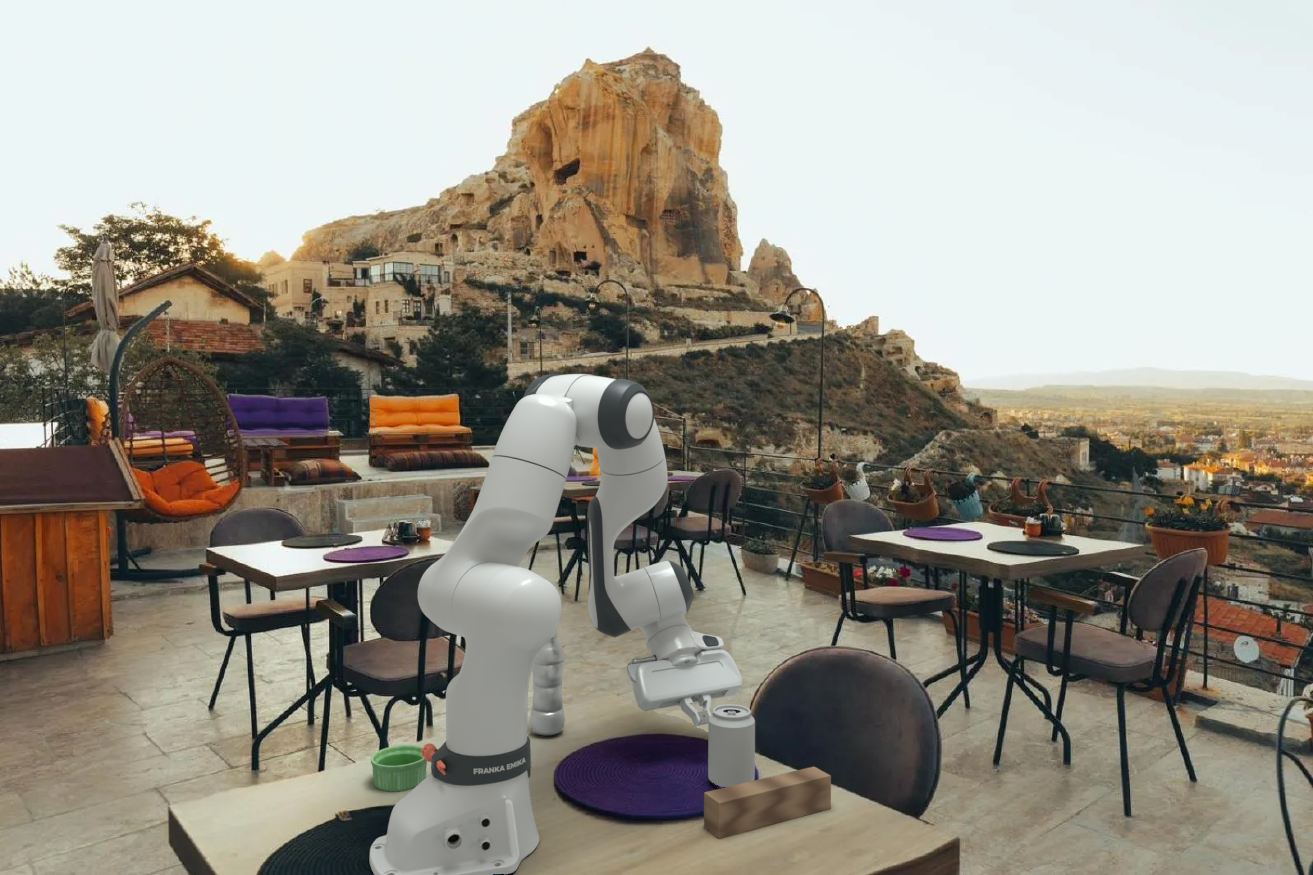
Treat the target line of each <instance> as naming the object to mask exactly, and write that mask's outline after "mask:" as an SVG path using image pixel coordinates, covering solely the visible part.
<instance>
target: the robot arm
mask: <svg viewBox="0 0 1313 875" xmlns="http://www.w3.org/2000/svg"><path fill="white" fill-rule="evenodd" d="M661 437H662V436H661V434H660V431H659V427H658V424H657V422H656V419H655V406H654V402H653V399H652V397H651V396H650V394H649V392H648V391H647V389H646V388H645V387H644V386H643V385H642V384H640V383H639V382H635V381H632V380H629V379H627V378H626V379H625V378H617V379H615V378H611V377H606V376H599V375H593V374H590V373H589V374H587V373H571V374H569V373H568V374H561V373H551V374H550V373H549V374H546V375H541V376H540V377H537V378H536V379H534V380H533V381H532V382H531V383H530V384H529V385H528V387H527V388H526V390H525V392H524V394H523V397H522V398H521V399H519V401H518V402H516V404H515V406H514V408H513V410H512V411H511V413H510V415H509V417H508V419H507V420H506V422H505V424H504V426H503V429H502V431H501V432H500V436H499V437H498V440H497V442H496V445H495V448H494V450H493V453H492V456H491V459H490V462H489V464H488V467H487V471H486V474H485V477H484V480H483V482H482V485H481V488H480V491H479V494H478V497H477V499H476V502H475V504H474V506H473V510H472V512H471V513H470V514H469V517H468V518H467V520H466V522H465V524H464V526H463V527H462V529H461V531H460V532H459V533H458V535H457V537H456V538H455V540H454V541H453V542H452V544H451V546H450V547H449V548H448V550H447V551H446V552H445V553H444V554H443V555H442V557H440V558H439V559H438V560H437V561H435V562H434V563H432V564H431V565H430V566H429V567H428V568H427V569H426V570H425V571H424V572H423V574H422V576H421V578H420V580H419V582H418V583H419V584H418V588H417V601H418V606H419V607H420V610H421V612H422V613H423V615H424V616H425V617H426V618H428V619H429V620H430V621H431V622H432V623H433V624H435V625H436V626H437V627H438V628H440V629H441V630H443V631H444V632H446V633H450V634H453V635H455V636H459V637H461V638H462V637H463V638H464V642H465V652H464V657H463V661H462V665H461V668H460V670H459V673H458V674H456V676H454V677H453V678H452V679H451V680H450V682H449V683H448V685H447V687H446V689H445V741H444V743H442V745H440V746H439V748H437V747H436V745H434V743H432V742H431V743H426V744H424V745H423V748H422V751H421V753H422V756H423V757H424V758H425V760H426V761H427V762H429V763H430V769H431V770H430V771H431V772H430V774H429V775H426V778H425V779H424V780H423V781H422V782H421V783H419V784H418V785H417V786H416V787H414V788H412V789H410V791H409V792H408V793H406V795H404V796H403V797H402V798H401V799H399V800H398V801H397V802H396V803H395V805H394V806H393V808H392V811H391V813H390V816H389V821H388V824H387V832H386V834H385V835H382V836H379V837H377V838H376V839H375V840H374V841H373V843H372V844H371V846H370V848H369V857H368V858H369V859H368V860H369V866H370V869H371V871H372V872H373V875H493V874H504V875H508V874H512V873H514V872H515V871H516V870H517V869H518V868H519V866H520V863H521V862H522V861H523V859H525V858H526V857H527V856H529V855H530V854H531V853H532V852H533V851H535V849H536V848H537V847H538V845H539V843H540V842H539V841H540V833H539V832H538V829H537V828H538V827H537V824H536V821H535V816H534V811H533V806H532V798H531V792H530V791H531V789H530V780H529V779H530V778H531V771H532V770H531V768H532V747H531V738H530V736H528V710H529V709H528V706H529V704H528V703H529V686H530V679H531V675H532V668H533V665H534V662H535V659H536V657H537V654H538V652H539V651H540V649H541V648H542V647H543V646H544V645H545V644H546V643H548V642H549V641H550V639H551V638H552V637H553V636H554V634H555V633H556V631H557V632H558V629H559V626H560V623H561V620H562V614H563V605H562V599H561V596H560V594H559V591H558V589H557V588H556V587H555V585H554V584H552V583H551V582H550V581H549V580H547V579H546V578H544V577H543V576H541V575H539V574H537V573H536V572H534V571H532V570H531V569H528V568H525V567H520V564H521V562H522V561H523V559H524V557H525V556H526V554H527V553H528V551H529V550H530V549H531V548H532V547H533V546H534V545H535V544H537V542H539V541H540V540H542V539H544V538H545V537H546V535H548V534H549V532H550V531H551V529H552V528H553V524H554V521H555V518H556V514H557V511H558V507H559V504H560V501H561V498H562V495H563V492H564V488H565V485H566V482H567V478H568V474H569V471H570V467H571V463H572V458H573V455H574V448H575V447H576V446H578V447H584V448H594V449H596V452H597V453H596V454H597V460H598V465H599V470H600V471H599V472H600V480H599V481H600V482H599V485H598V489H597V492H596V494H595V496H593V498H592V499H590V501H589V502H588V506H587V517H586V519H587V520H586V521H587V524H586V526H587V527H586V528H587V530H586V532H587V557H588V562H587V563H588V600H587V610H588V614H589V618H590V620H591V622H592V624H593V626H594V628H595V630H596V631H597V632H600V633H602V634H604V635H606V636H608V637H611V638H612V637H613V638H618V637H620V636H622V635H624V634H625V635H626V634H627V633H628V632H629V633H630V632H631V631H632V630H636V629H637V628H639V629H640V631H641V632H642V633H643V635H644V638H645V645H646V649H647V651H648V654H649V656H648V655H647V656H645V657H636V658H635V657H634V658H632V659H631V661H629V662H628V663H627V666H626V671H627V675H628V677H629V679H630V681H631V682H632V690H633V694H634V698H635V701H636V705H637V707H638V708H639V709H641V711H643V712H648V711H654V710H660V709H664V708H670V707H675V706H679V707H680V710H681V711H682V712H683V713H684V714H686V716H688V717H689V718H690V719H691V721H692V724H693V725H694V727H699V726H703V725H708V719H709V717H710V716H711V715H712V713H711V710H710V709H711V704H712V700H713V699H719V698H725V697H729V696H731V697H732V696H735V695H737V694H738V692H739V691H740V690H741V688H742V686H743V683H744V680H743V676H742V673H741V672H740V670H739V667H738V666H737V664H736V662H735V660H734V658H733V656H732V655H731V654H730V653H729V652H728V651H726V649H723V648H724V646H725V643H724V640H723V638H722V637H720V636H717V635H712V634H707V633H701V632H698V631H694V630H693V629H692V627H691V626H690V624H689V623H688V622H687V620H686V614H688V612H689V611H690V608H691V606H692V604H693V602H694V599H695V592H694V590H693V587H692V584H691V582H690V580H689V578H688V576H687V573H686V571H685V568H684V567H683V566H682V565H680V564H679V563H676V562H674V561H672V560H663V561H659V562H656V563H653V564H651V565H647V566H644V567H642V568H638V569H636V570H633V571H630V572H627V573H623V574H621V575H617V576H616V575H615V556H614V555H615V554H614V551H615V550H614V549H615V548H614V546H615V543H616V541H617V538H618V537H619V535H620V534H621V533H622V532H623V531H624V530H625V529H626V528H628V526H630V525H631V524H632V523H633V522H634V521H635V520H638V518H640V517H641V516H643V515H645V514H646V513H648V512H649V511H650V510H651V509H653V507H655V506H656V504H657V503H658V502H659V501H660V500H661V499H662V497H663V495H664V493H665V492H666V489H667V487H668V479H669V478H668V465H667V460H666V454H665V450H664V445H663V441H662V440H663V439H662V438H661ZM693 703H698V706H699V707H702V711H698V710H697V709H696V708H695V707H694V706H693V705H692V704H693Z"/></svg>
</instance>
